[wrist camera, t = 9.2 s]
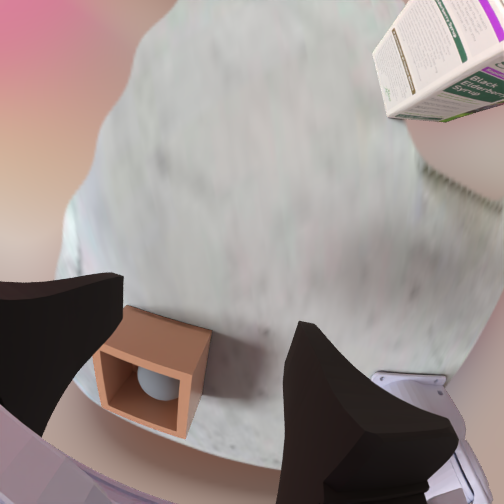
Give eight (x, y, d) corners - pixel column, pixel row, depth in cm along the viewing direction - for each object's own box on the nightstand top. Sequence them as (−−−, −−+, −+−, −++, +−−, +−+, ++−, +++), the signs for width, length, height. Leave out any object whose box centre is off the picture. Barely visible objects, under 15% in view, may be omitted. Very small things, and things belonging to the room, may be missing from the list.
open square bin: (212, 330, 22) (192, 375, 16) (201, 395, 24) (185, 439, 19) (126, 304, 23) (90, 337, 17) (128, 370, 25) (101, 407, 19)
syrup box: (385, 119, 17) (526, 52, 3) (368, 51, 15) (454, -65, 1) (445, 123, 16) (584, 93, 2) (428, 58, 15) (535, -14, 1)
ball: (188, 339, 23) (196, 374, 19) (184, 376, 24) (192, 410, 20) (137, 336, 21) (136, 372, 17) (137, 374, 22) (139, 410, 18)
